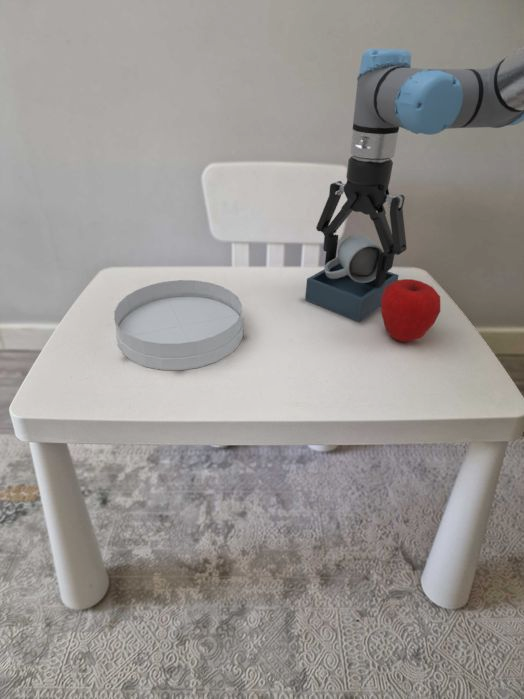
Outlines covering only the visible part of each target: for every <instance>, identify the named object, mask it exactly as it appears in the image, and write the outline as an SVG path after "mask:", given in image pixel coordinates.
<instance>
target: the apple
mask: <svg viewBox="0 0 524 699" xmlns="http://www.w3.org/2000/svg"><path fill="white" fill-rule="evenodd" d="M380 308H381V311H380V312H381V317H382V321H383V325H384V329H385V330H386V332H387V333H388V334H389V335H390V336H391V337H392V338H393V339H394V340H396V341H398V342H402V343H407V342H412V341H415V340H419V339H422V337H424V336H425V334H426V333H427V332H428V331H429V330H430V329H431V328H432V327H433V325H434V324H435V323H436V320H437V319H438V317H439V315H440V313H441V296H440V294H439V293H438V292H437V290H435V288H434V287H433V286H431V285H429V284H428V283H426V282H423V281H420V280H417V279H411V278H410V279H409V278H408V279H407V278H405V279H398V281H396V282H394V283H392V284H390V285H388V286H387V287H386V289H385V291H384V293H383V295H382V299H381V306H380Z"/></svg>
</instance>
